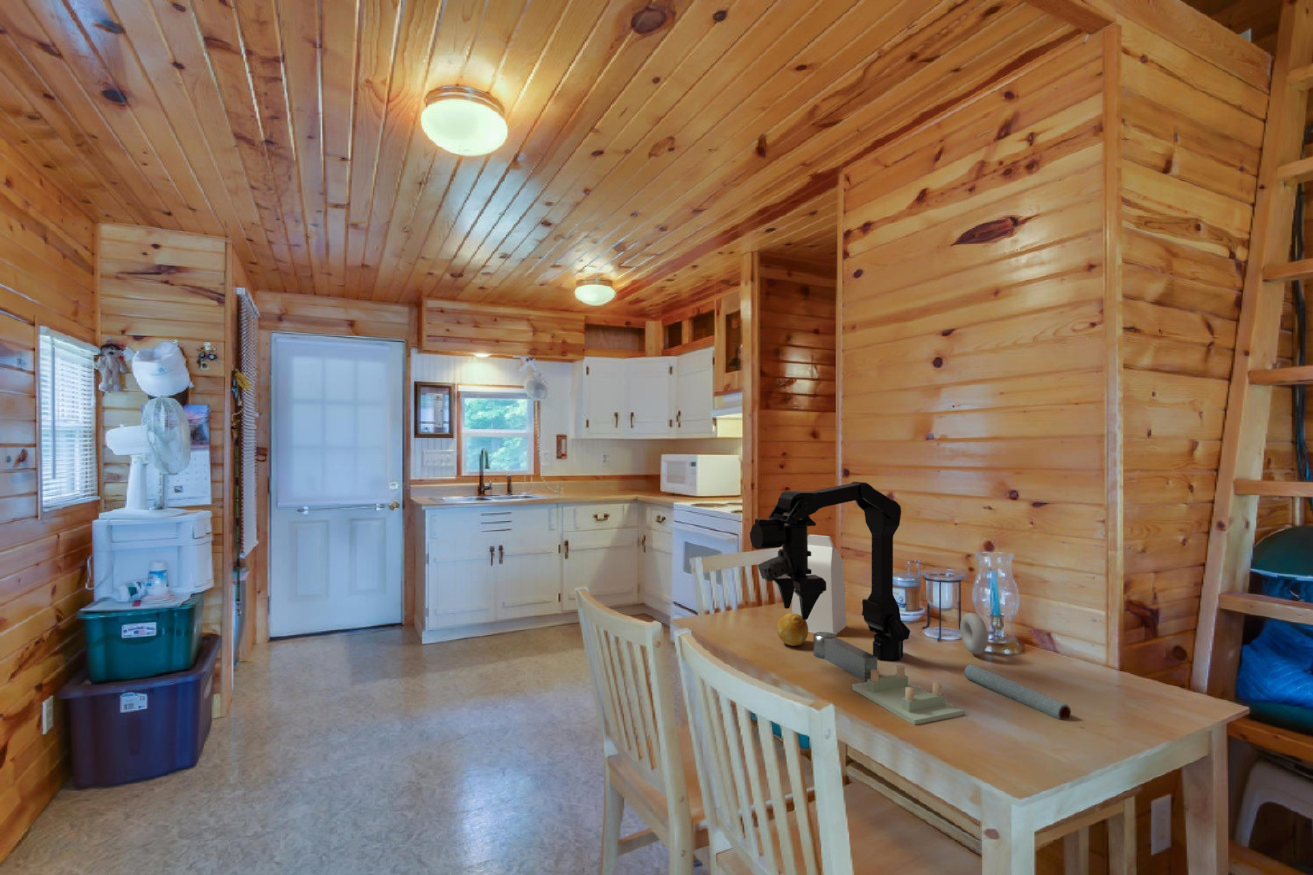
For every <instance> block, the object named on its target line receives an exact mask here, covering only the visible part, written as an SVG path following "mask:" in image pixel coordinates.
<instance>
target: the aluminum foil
mask: <svg viewBox="0 0 1313 875" xmlns="http://www.w3.org/2000/svg"><path fill="white" fill-rule="evenodd" d="M964 677H965V678H966V679H967V680H969V681H971V682H973V683H975V682H976V684H978V685H980V686H982V687H984V688H987V689H989V690H992V691H994V692H995V693H999V694H1000V695H1002V696H1005V697H1007V698H1009V699H1012V700H1013V701H1016V702H1018V703H1020V704H1023V705H1026V706H1027V707H1029V708H1032V709H1035V710H1036V711H1039V712H1041V713H1044V714H1046V715H1048V716H1050V717H1053V718H1055V719H1057V720H1063V718H1067V719H1069V718H1070V717H1071V715H1072V714H1071V713H1072V710H1071V707H1070V705H1068V704H1066V703H1065V702H1062V701H1059V700H1057V699H1055V698H1053V697H1050V696H1047V695H1046V694H1042V693H1041V692H1038V691H1035V690H1033V689H1032V688H1028V687H1026V686H1025V685H1022V684H1020V683H1017V682H1015V681H1012V680H1010V679H1007V678H1005V677H1003V676H1000V675H998V674H996V673H994V672H991V671H989V670H986V669H984V668H982V667H980V666H977V665H974V664H968V665H967V666H965V669H964ZM1062 717H1063V718H1062Z"/></svg>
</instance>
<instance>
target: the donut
mask: <svg viewBox="0 0 1313 875" xmlns="http://www.w3.org/2000/svg"><path fill="white" fill-rule="evenodd" d="M959 628H960V631H959V632H960V636H961V640H962V643H963V646H965V649H966V650H967V651H968V652H969V653H972V654H973V655H980V654H983V653H984V652H985V650H987V647H988V642H989V639H988V638H989V637H988V631H987V629H988V628H987V627H986V623H985V622H984V620H983V618H982V617H981V616H979V615H978V613H975V612H967V613H965V614H964V615H963V616H962V618H961V619H960V627H959Z"/></svg>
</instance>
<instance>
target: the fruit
mask: <svg viewBox="0 0 1313 875" xmlns="http://www.w3.org/2000/svg"><path fill="white" fill-rule="evenodd" d="M776 633H777V635H778V637H779V639H780V640H781V641H782V642H783V643H784V644H785V645H788V646H791V647H799V646H801V645H802V644H803V643H804V642H805V641H806V640H807V637H808V635H809V632H808V625H807V622H806V620H803V619H802V616H801V615H798V614H794V613H792V612H791V613H787V614H785V615H783V616H782V617H781V618H780V619H779V620H778V622H777V625H776Z"/></svg>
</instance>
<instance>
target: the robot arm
mask: <svg viewBox="0 0 1313 875" xmlns="http://www.w3.org/2000/svg"><path fill="white" fill-rule="evenodd" d="M853 501H855V504H856V506H857V507H859V508H860V509H861V510H862V511H863V513H864V520H865V525H866V526H867V528H868V529H869V532H870V534H871V592H870V594H869V596H868V598H867V599H866V598H863V599H862V601H861V604H862V611H861V616H862V617H863V620H864V622H865V624H866V625H867V627H868V631H869V632H871V633H874V635H873V641H872V655H874V656H876V657H877V661H880V662H884V661H887V662H897V661H901V659H903V658H904V641H905V640H909V637H910V634H911V630H910V628H909V627H908V626H907V625H906V624H905V623H904V622H903V621H902V618H901V611H900V610H901V609H900V606H899V603H898V602H897V600H896V598H895V596H894V535H895V534H896V531H897V530H898V529H899V527H900V524H901V516H902V507H901V505H900V504H899V503H898V502H897V501H896V500H895V499H891V498H889V497H888V496H887V495H885V494H884V493H881V491H878V490H877V489H876V488H874V487H873V486H872V485H871V484H869V483H868V482H864V481H852V482H849V483H846V484H840V485H835V486H832V487H825V488H822V489H817V490H816V489H815V490H785V491H782V492H781V493H780V496H779V497H778V500H777V503H776V505H775V506H774V508H773V509H772V511H771V513H770V514H769V516H768V518H755V519H754V524H753V525H752V526H751V529H750V531H749V539H750V543H751V545H752V546H751V547H753V548H754V549H755V550H764V549H766V550H767V549H776V548H777V549H778V548H779V549H778V551H777V556H776V557H772V558H770V559H768V560H765V561H762V562H761V563H758V565H757V568H758V570H759V572H760V576H761V578H762V579H763V580H765V581H766V582H769V583H770V582H774V583H775V585H777V587H778V590H779V593H780V597H781V601H782V604H783V607H784V609H786V610H787V609H790V607H791V606H792V600H793V593H794V592H795V593H796V594H797V595H798V596H799V600H800V608H801V615H802V619H803V620H807V619H808V617H809V615H810V613H811V611H812V609H813V607H814V605H815V603H816V601H817V599H818V598H819V596H820V594H822V593H823V591H826V581H825V580H824V579H823V578H821V577H819V576H817V575H806V574H811V569H809V568H808V556H811V551H808V535H809V533H808V532H809V531H808V529H809V528H808V527H815V526H817V523H816V521H814V520H813V519H812V518H811V517H810V516H811V515H813V514H816V513H817V512H818V511H819V510H820V509H823V508H826V507H831V506H835V505H841V504H846V503H849V502H853ZM781 547H782V548H781ZM780 548H781V549H780ZM794 589H795V590H794Z"/></svg>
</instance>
